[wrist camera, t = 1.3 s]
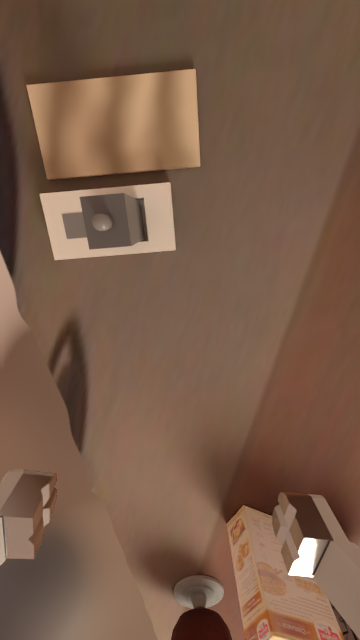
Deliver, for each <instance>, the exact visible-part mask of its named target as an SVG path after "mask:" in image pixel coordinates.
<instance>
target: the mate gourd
mask: <svg viewBox="0 0 360 640" xmlns="http://www.w3.org/2000/svg"><path fill="white" fill-rule="evenodd" d="M223 595H224V590H223V586H222V584H221V583H220V582H219V581H218V580H217V579H215V578H213V577H210V576H205V575H194V576H189V577H186V578H184V579H182V580H180V581H179V582H178V583H177V584H176V585H175V587H174V598H175V600H176V601H177V602H178V603H180V604H181V605H183V606H186V607H189V608H194V609H192V610H189V611H187V612H185V613H183V614H182V615H181V616H180V618H179V620H178V622H177V624H176V625H175V627H174V629H173V633H172V638H171V640H232V638H231V635H230V631H229V629H228V627H227V625H226V624H225V622H224V621H223V619H222V618H221V616H220V615H219V614H218V613H217V612H215V611H213V610H210V609H206V608H207V607H210V606H213V605H215V604H217V603H218V602H219V601H220V600H221V599H222V598H223Z"/></svg>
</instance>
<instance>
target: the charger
mask: <svg viewBox="0 0 360 640" xmlns="http://www.w3.org/2000/svg"><path fill="white" fill-rule="evenodd" d="M80 202H81V208H82V213H83V218H84V224H85V229H86V234H87V240H88V245H89V250H90V249H102V248H114V247H126V246H132V245H134V244H136V243H138V242H139V241H141V240H143V239H144V238H143V236H144V235H145V233H144V225H143V216H142V208H141V205H140V204H139V200H137V199H135V198H133V197H131V196H129V195H127V194H125V193H118V194H106V195H95V196H84V197H80Z"/></svg>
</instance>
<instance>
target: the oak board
mask: <svg viewBox="0 0 360 640" xmlns="http://www.w3.org/2000/svg"><path fill="white" fill-rule="evenodd" d="M27 90H28V94H29V99H30V103H31V108H32V112H33V117H34V122H35V126H36V131H37V135H38V140H39V144H40V149H41V153H42V158H43V163H44V167H45V172H46V176H47V179H48V180H56V179H68V178H79V177H90V176H102V175H113V174H124V173H135V172H147V171H158V170H169V169H180V168H192V167H200V150H199V130H198V109H197V88H196V69H189V70H178V71H168V72H158V73H147V74H137V75H126V76H116V77H106V78H95V79H85V80H75V81H64V82H54V83H44V84H33V85H27Z"/></svg>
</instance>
